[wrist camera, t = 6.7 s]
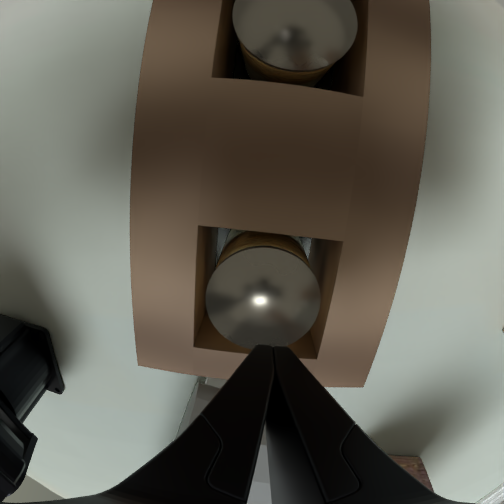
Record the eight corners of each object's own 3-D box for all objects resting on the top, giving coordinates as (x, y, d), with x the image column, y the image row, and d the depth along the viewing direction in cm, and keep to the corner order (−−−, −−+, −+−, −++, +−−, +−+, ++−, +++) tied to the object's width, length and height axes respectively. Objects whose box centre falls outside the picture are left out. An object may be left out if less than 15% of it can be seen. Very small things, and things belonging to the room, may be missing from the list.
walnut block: (338, 321, 19) (363, 387, 13) (170, 303, 19) (138, 365, 13) (381, 16, 13) (426, -29, 7) (197, -7, 13) (169, -64, 7)
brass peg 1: (321, 103, 15) (354, 80, 9) (239, 93, 15) (225, 63, 9) (328, 31, 13) (358, -19, 8) (247, 21, 13) (240, -36, 8)
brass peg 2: (296, 289, 18) (309, 354, 12) (221, 281, 18) (203, 344, 12) (307, 216, 16) (330, 254, 11) (227, 208, 16) (208, 241, 11)
